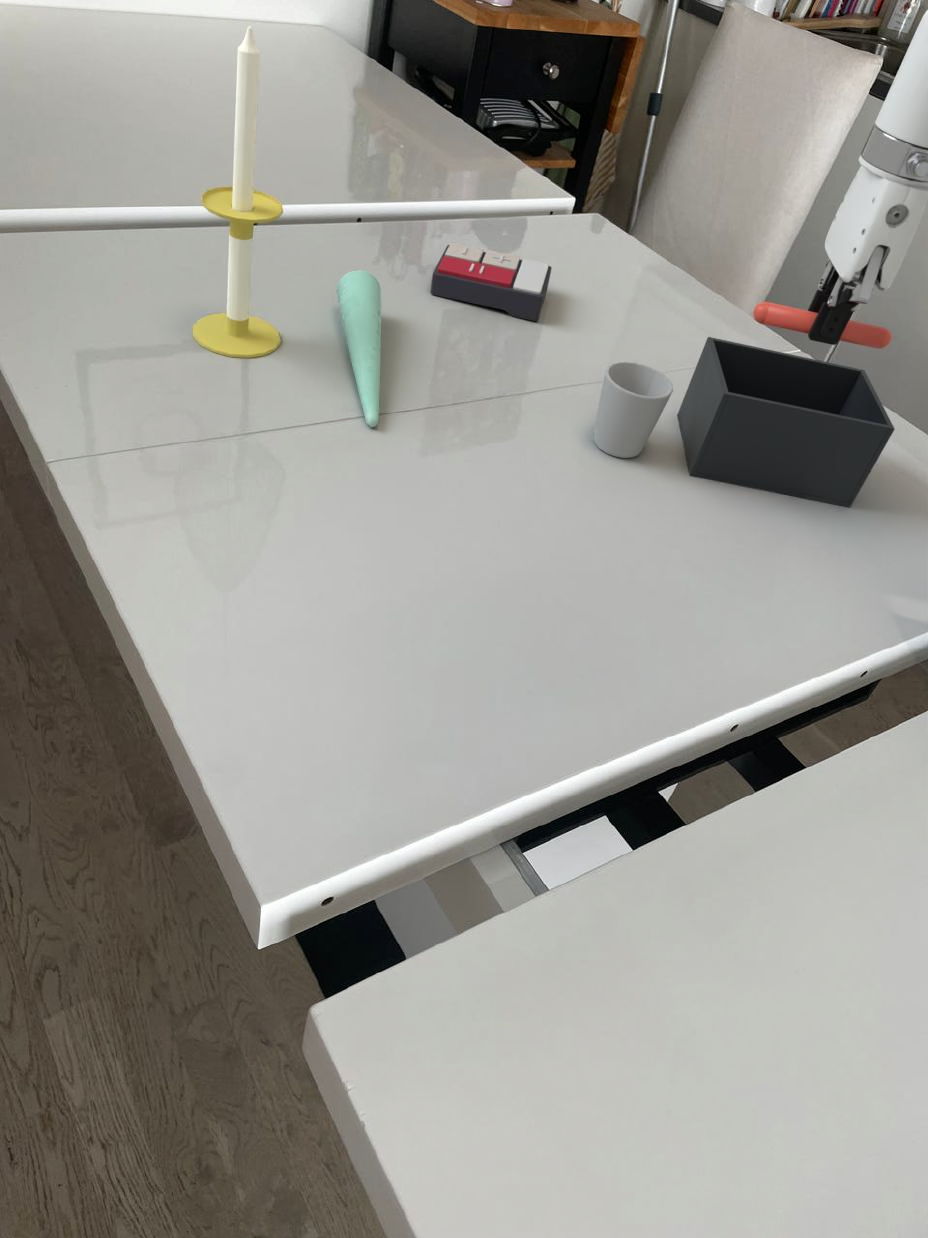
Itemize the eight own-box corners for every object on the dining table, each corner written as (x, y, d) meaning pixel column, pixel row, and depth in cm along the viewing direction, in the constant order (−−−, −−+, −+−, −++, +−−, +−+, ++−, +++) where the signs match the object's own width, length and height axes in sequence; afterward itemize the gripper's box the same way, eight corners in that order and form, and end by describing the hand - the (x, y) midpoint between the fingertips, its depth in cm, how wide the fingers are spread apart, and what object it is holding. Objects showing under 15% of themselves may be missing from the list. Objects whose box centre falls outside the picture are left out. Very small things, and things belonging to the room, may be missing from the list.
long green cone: (352, 382, 101) (339, 267, 120) (346, 427, 104) (334, 309, 123) (404, 387, 102) (383, 272, 121) (396, 432, 106) (377, 314, 125)
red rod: (882, 344, 106) (892, 325, 105) (887, 354, 105) (897, 335, 103) (748, 315, 105) (756, 296, 103) (751, 324, 103) (760, 305, 102)
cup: (589, 458, 109) (611, 391, 103) (578, 411, 116) (598, 346, 111) (654, 468, 110) (679, 402, 105) (639, 420, 118) (662, 356, 112)
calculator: (448, 238, 137) (553, 260, 137) (444, 268, 140) (547, 290, 140) (432, 267, 129) (544, 291, 129) (428, 298, 132) (538, 322, 132)
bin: (825, 445, 122) (864, 369, 115) (850, 507, 112) (895, 428, 105) (676, 415, 121) (707, 336, 113) (689, 475, 111) (724, 393, 104)
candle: (185, 349, 109) (186, 21, 88) (199, 308, 117) (204, -4, 95) (275, 363, 111) (298, 44, 89) (284, 323, 118) (308, 18, 97)
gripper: (969, 195, 87) (870, 378, 99) (916, 138, 99) (834, 309, 111) (889, 176, 86) (800, 363, 98) (846, 121, 98) (771, 295, 110)
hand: (819, 333), depth 105 cm, fingers closed on red rod, 2 cm apart
